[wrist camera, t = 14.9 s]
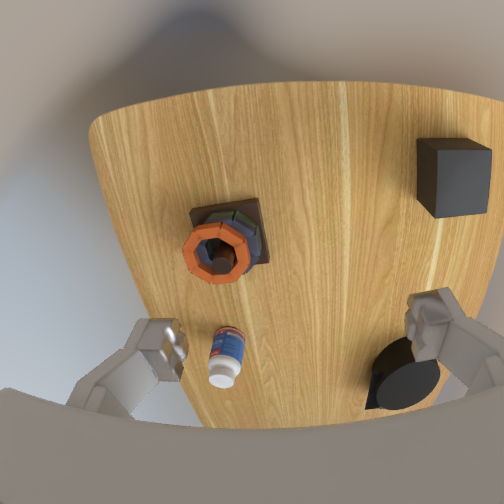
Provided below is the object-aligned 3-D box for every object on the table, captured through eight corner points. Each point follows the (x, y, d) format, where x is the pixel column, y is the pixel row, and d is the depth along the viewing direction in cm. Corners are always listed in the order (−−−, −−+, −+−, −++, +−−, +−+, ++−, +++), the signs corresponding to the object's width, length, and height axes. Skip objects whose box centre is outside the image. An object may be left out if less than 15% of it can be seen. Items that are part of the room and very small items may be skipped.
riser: (416, 138, 32) (437, 150, 27) (467, 138, 31) (492, 149, 26) (416, 199, 37) (434, 218, 31) (465, 195, 35) (486, 213, 30)
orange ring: (178, 227, 37) (175, 233, 36) (241, 218, 36) (240, 223, 35) (196, 280, 41) (194, 286, 40) (254, 274, 40) (253, 280, 39)
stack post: (192, 208, 40) (173, 237, 34) (258, 198, 39) (252, 226, 32) (208, 264, 45) (196, 299, 38) (269, 257, 43) (266, 293, 37)
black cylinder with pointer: (439, 326, 50) (451, 353, 43) (421, 383, 58) (428, 408, 51) (370, 336, 52) (376, 365, 46) (362, 392, 60) (365, 419, 54)
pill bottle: (221, 321, 51) (210, 367, 43) (250, 332, 52) (244, 378, 44) (210, 340, 54) (200, 383, 46) (238, 350, 55) (231, 393, 46)
